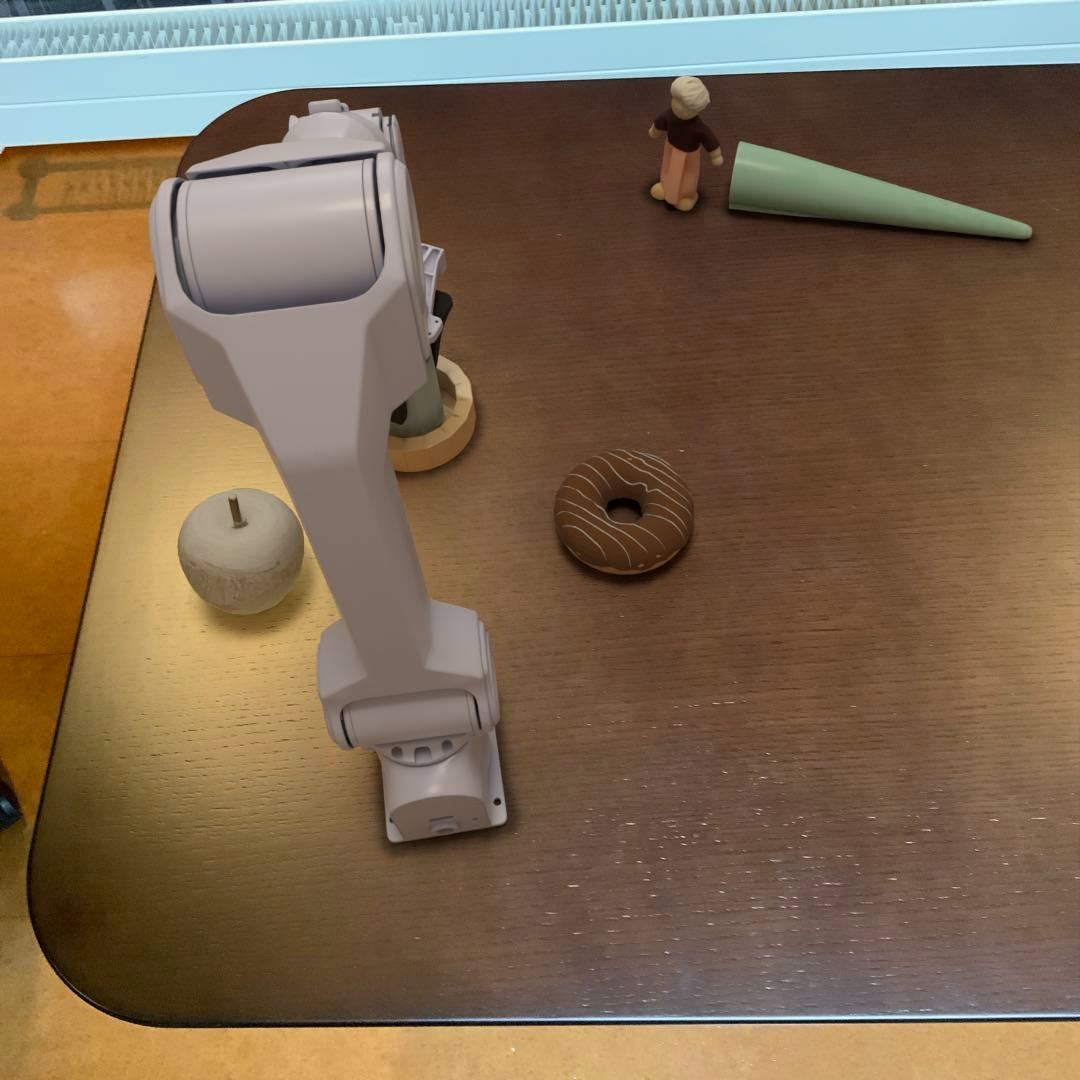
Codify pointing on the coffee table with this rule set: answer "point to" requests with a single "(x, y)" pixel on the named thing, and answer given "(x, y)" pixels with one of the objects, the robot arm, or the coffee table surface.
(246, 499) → the decorative object
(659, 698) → the coffee table surface
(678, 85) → the grandmother figurine
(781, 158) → the mint green cone
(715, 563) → the coffee table surface
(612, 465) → the donut
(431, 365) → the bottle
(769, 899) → the coffee table surface
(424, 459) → the holder
